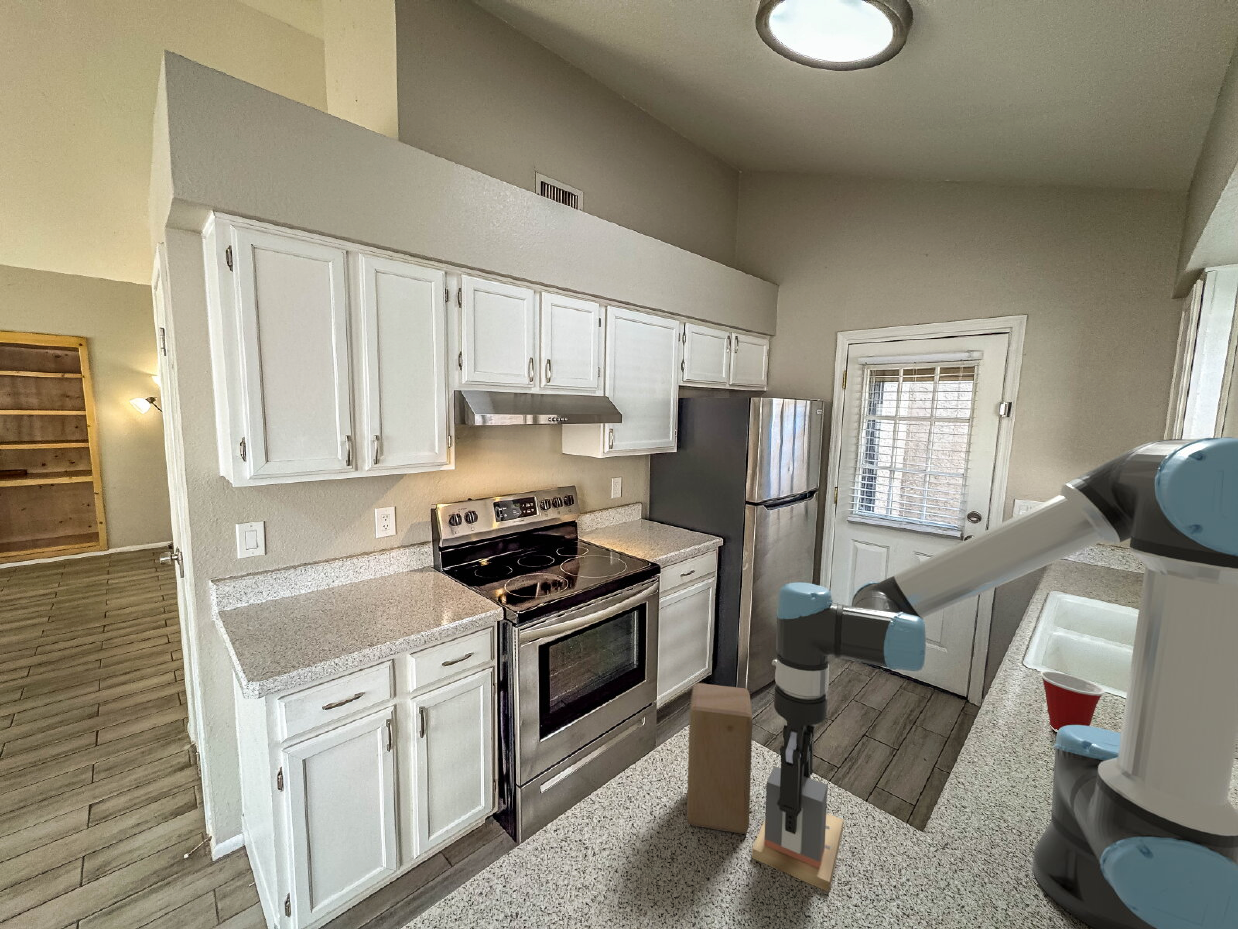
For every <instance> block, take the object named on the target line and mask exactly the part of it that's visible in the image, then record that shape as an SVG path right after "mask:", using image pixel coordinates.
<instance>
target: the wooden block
mask: <svg viewBox="0 0 1238 929" xmlns="http://www.w3.org/2000/svg"><path fill="white" fill-rule="evenodd" d="M692 686H693V687H692V689H691V697H690V708H689V718H688V719H689V720H688V723H689V725H688V726H689V728H688V761H687V762H688V763H687V764H688V765H687V767H688V768H687V796H686V797H687V798H686V799H687V800H686V802H687V804H686V818H687V819H686V820H687V822H688V824H690V825H691V826H694V827H700V828H701V827H702V828H705V829H712V830H719V831H724V832H731V833H737V834H742V835H743V834H747V832H748V830H749V828H750V809H751V808H750V806H751V804H750V802H751V778H752V775H751V774H752V772H751V770H752V746H753V739H752V738H753V713H752V702H751V694H750V692H749V690H748V689H746V688H744V687H743V688H742V687H737V686H736V687H735V686H726V685H717V684H710V683H709V684H707V683H699V682H697V683H694V685H692Z"/></svg>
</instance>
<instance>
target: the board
mask: <svg viewBox="0 0 1238 929" xmlns="http://www.w3.org/2000/svg"><path fill="white" fill-rule="evenodd" d="M843 830H844V819H843V818H839V817H838V816H835V815H832V814H828V813H827V812H826V830H825V849H824V853H823V857H822V861H821V865H820V869H819V868H817V867H814V866H812V865H810V864H807V863H805V862H803V861H800V860H798V859H796V858H793V857H791V856H789V855H786V854H784V853H782V852H779V851H777V850H775V849H772V848H770V847H768V846H765V845H764V838H765V819H764V820H763V822H762V825H761V826H760V830H759V832H758V835H757V837H756V839H755V841H754V844H753V847H752V848H751V859H754V860H756V861H758V862H759V863H762V864H764V865H766V866H769V867H771V868H774V869H775V870H778V871H781V872H783V873H785V874H786V875H789V876H792V877H795V878H797V879H799V880H801V881H803V882H806V883H807V884H809V885H812V886H814V887H816V888H818V889H821V890H823V891H826V892H828V893H830V891H831V886H832V881H833V876H834V872H835V868H836V862H837V858H838V852H839V850H840V845H841V839H842V835H843Z"/></svg>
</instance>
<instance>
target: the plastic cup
mask: <svg viewBox="0 0 1238 929" xmlns="http://www.w3.org/2000/svg"><path fill="white" fill-rule="evenodd" d="M1040 677H1041V679H1042V681H1043V686H1044V692H1045V699H1046V707H1047V714H1048V718H1049V725H1051V726H1052V727H1053V728H1054V729H1057V730H1059V729H1060V728H1061V727H1064V726H1067V725H1083V726H1091V723H1092V721H1093V720H1092V719H1093V717H1094V714H1095V710H1096V708H1097V704H1098V702H1099V701H1100V699H1101V697H1102V696H1103V695H1105V694H1106V691H1105V689H1104V688H1102V686H1100V685H1099V684H1098V685H1097V684H1095V683H1094V682H1091V681H1089V680H1086V679H1084V678H1081V677H1078V676H1074V675H1070V674H1067V673H1062V672H1057V671H1041V672H1040ZM1051 726H1050V727H1051Z"/></svg>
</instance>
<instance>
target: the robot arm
mask: <svg viewBox="0 0 1238 929" xmlns="http://www.w3.org/2000/svg"><path fill="white" fill-rule="evenodd" d="M1129 539H1130V541H1129V550H1130V552H1131V553H1133V555H1135V556H1136V557H1137V558H1138V559H1139V560H1140V562H1142V563H1143V566H1144V573H1143V579H1142V580H1143V581H1142V587H1141V595H1140V600H1139V606H1138V614H1137V615H1138V616H1137V622H1136V629H1135V635H1134V642H1133V649H1132V656H1131V662H1130V669H1129V670H1130V671H1129V676H1128V677H1129V678H1128V683H1127V688H1126V689H1127V690H1126V691H1127V692H1126V699H1125V706H1124V712H1123V716H1122V717H1123V719H1122V724H1121V725H1122V726H1121V732H1117V731H1113V730H1109V729H1106V728H1105V729H1104V728H1102V727H1095V726H1091V725H1089V726H1083V725H1067V726H1064V727H1061V728H1060V729H1059V730H1058V732H1057V733H1056V740H1055V743H1054V744H1053V748H1054V764H1053V779H1052V780H1053V782H1052V795H1051V796H1052V800H1051V817H1050V818H1051V819H1050V821H1049V824H1047V825H1048V826H1046V829H1045V830H1044V831H1043V833H1042V835H1041V837H1040V839H1039V840H1038V842H1037V843H1036V845H1035V847H1034V850H1033V857H1032V871H1033V875H1034V876H1035V879H1036V881H1037V882H1038V885H1039V886H1040V887H1041V888H1042V889H1043V891H1045V893H1046V894H1047V895H1048V896H1049V897H1050V898H1051V899H1052V900H1053V901H1054V902H1055V903H1056V904H1058V905H1059V906H1060V907H1061V908H1062V909H1064V910H1065V911H1067V913H1069V914H1071V915H1072V916H1073V917H1074V918H1076V919H1077V920H1079V921H1081V922H1082V923H1084V924H1086V925H1087V926H1089V927H1091V928H1093V929H1238V809H1237V808H1236V806H1234V805H1233V804H1232V803H1231V802H1230V801H1229V800H1228V798H1229V792H1230V786H1231V781H1232V780H1231V779H1232V774H1233V769H1234V761H1235V755H1236V748H1237V742H1238V437H1237V438H1236V437H1231V436H1227V437H1205V438H1188V439H1187V438H1174V439H1173V438H1172V439H1160V440H1159V439H1158V440H1154V441H1150V442H1147V443H1144V444H1142V445H1141V444H1140V445H1138V446H1137V447H1134V448H1131V449H1129V450H1128V449H1127V451H1125V452H1122V453H1121V454H1119V455H1117V456H1115V457H1114V458H1111V459H1109V460H1107V461H1105V462H1104V463H1102V464H1100V465H1099V466H1096V467H1095V468H1093V469H1091V470H1089V471H1087V472H1085V473H1083V474H1082V475H1080V476H1078V477H1076V478H1073V479H1072V480H1070V481H1067V482H1065V483H1064V484H1062V486H1061V489H1060V493H1059V495H1057V496H1054V497H1052V498H1050V499H1048V500H1046V501H1045V502H1042V503H1040V504H1038V505H1036V506H1034V507H1032V508H1030V509H1027V510H1026V511H1023V512H1022V513H1019V514H1018V515H1016V516H1013V517H1012V518H1009V519H1006V520H1005V521H1003V522H1001V523H999V524H997V525H995V526H993V527H991V528H988V529H987V530H985V531H983V532H981V533H977V534H976V535H975V536H973V537H970V538H969V539H966V540H964V541H962V542H960V543H958V544H956V545H954V546H951V547H949V548H947V549H946V550H944V551H942V552H939V553H937V554H935V555H933V556H931V557H929V558H927V559H925V560H923V561H921V562H919V563H917V564H914V565H913V566H911V567H909V568H907V569H904V570H902V571H901V572H898V573H896V574H894V575H893V576H891V577H888V578H886V579H883V580H881V581H870V582H865V583H864V584H863V585H862V586H860V587H858V589H857V590H856V592H855V593H854V595H853V598H852V601H851V605H845V604H841V603H838V602H837V603H836V602H833V599H832V593H831V591H830V590H829V589H828V588H827V587H825V586H823V585H817V584H815V583H809V582H801V581H799V582H796V581H795V582H789V583H786V584H784V585H783V586H782V587H781V588H780V589H779V591H778V602H777V603H778V604H777V612H776V613H775V614H776V615H775V616H776V638H775V639H776V643H775V645H776V646H775V647H776V648H775V656H776V657H775V658H774V659H773V660H772V661H771V665H772V666H774V667H776V668H775V674H774V675H775V676H774V678H775V685H774V690H773V691H774V692H773V693H774V695H773V696H774V697H773V708H774V709H775V712H776V713H777V714H778V715H779V716H780V717H782V718H783V719H784V720H785V721H786V724H784V725H783V728H782V739H783V745H781V746H780V748H779V752H780V753H779V755H780V768H781V775H780V799H779V800H778V802H777V805H779V810H781V811H783V816H782V843H781V846H782V847H784V848H787V849H789V850H791V851H794V852H796V853H799V854H800V853H801V844H802V818H803V808H802V807H801V800H802V787H803V776H805V777H807V778H810V779H813V778H812V777H811V776H812V775H813V774H814V765H813V764H814V750H815V749H814V748H815V746H814V744H815V732H816V725H819V724H821V723H822V724H823V722H825V720H826V719H827V716H828V714H827V711H828V694H827V693H828V692H829V678H830V676H829V675H830V661H829V660H830V657H834V658H839V659H845V660H848V661H855V662H858V663H863V664H869V665H873V666H878V667H879V666H880V667H884V668H888V669H889V670H894V671H895V670H899V671H908V672H914V673H915V672H919V671H922V669H923V668H924V667H925V660H926V650H927V649H926V646H927V645H926V644H927V638H926V637H927V636H926V635H927V634H926V631H927V630H926V624H925V621H924V619H926V618H928V617H931V616H933V615H935V614H938V613H940V612H942V611H945V610H947V609H949V608H952V607H953V606H956V605H958V604H962V603H963V602H965V601H968V600H970V599H972V598H975V597H977V596H979V595H981V594H984V593H987V592H988V591H991V590H993V589H995V588H998V587H1000V586H1003V585H1005V584H1006V583H1009V582H1011V581H1015V580H1016V579H1018V578H1021V577H1023V576H1025V575H1028V574H1030V573H1032V572H1034V571H1037V570H1038V569H1041V568H1043V567H1046V566H1049V565H1051V564H1053V563H1055V562H1059V561H1060V560H1062V559H1064V558H1066V557H1067V558H1068V557H1069V556H1071V555H1075V554H1076V553H1079V552H1080V551H1083V550H1085V549H1087V548H1089V547H1092V546H1094V545H1097V544H1099V543H1106V544H1107V543H1109V544H1112V545H1113V544H1114V545H1117V544H1120V543H1122V542H1125V541H1126V540H1127V541H1128V540H1129ZM813 780H815V779H813Z"/></svg>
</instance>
